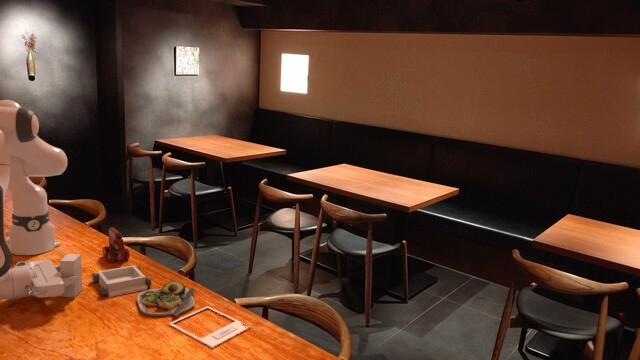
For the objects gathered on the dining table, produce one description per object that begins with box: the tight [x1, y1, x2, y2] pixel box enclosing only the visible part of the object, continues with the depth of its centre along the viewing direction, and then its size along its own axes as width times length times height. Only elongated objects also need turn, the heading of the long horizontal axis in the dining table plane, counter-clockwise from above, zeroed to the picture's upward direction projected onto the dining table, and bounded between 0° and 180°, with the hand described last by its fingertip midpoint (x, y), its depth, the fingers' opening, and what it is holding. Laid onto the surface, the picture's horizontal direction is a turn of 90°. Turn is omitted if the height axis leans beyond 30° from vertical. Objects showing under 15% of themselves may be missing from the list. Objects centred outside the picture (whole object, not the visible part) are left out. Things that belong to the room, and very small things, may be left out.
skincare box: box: [59, 253, 83, 298], centre depth 156 cm, size 6×4×12 cm
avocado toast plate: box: [136, 280, 196, 317], centre depth 155 cm, size 19×18×5 cm
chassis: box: [91, 264, 152, 298], centre depth 166 cm, size 15×15×4 cm
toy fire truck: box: [102, 227, 130, 263], centre depth 186 cm, size 7×12×10 cm, turn 40°
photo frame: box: [168, 305, 252, 349], centre depth 145 cm, size 15×1×18 cm
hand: (74, 273), depth 157 cm, fingers closed on skincare box, 7 cm apart
